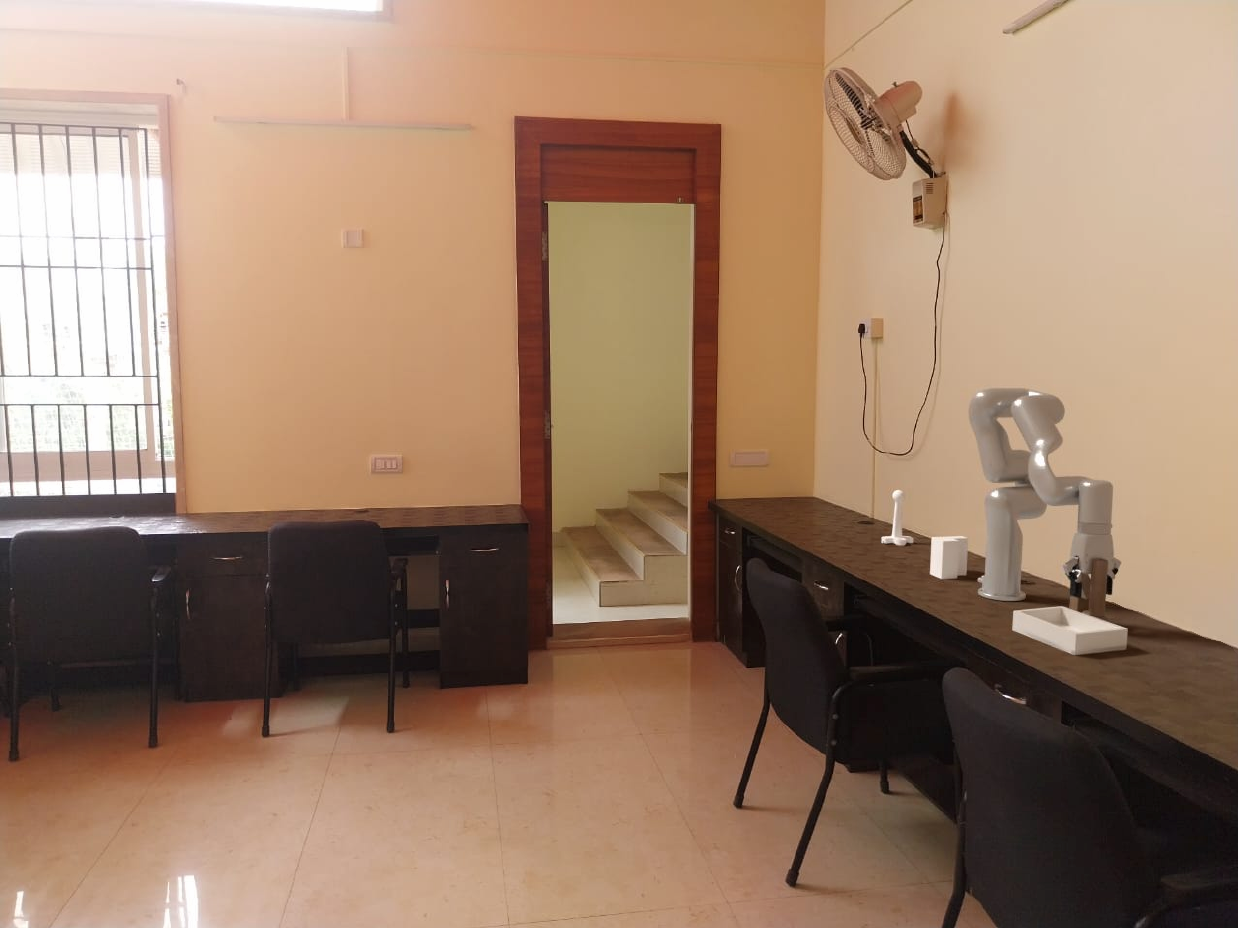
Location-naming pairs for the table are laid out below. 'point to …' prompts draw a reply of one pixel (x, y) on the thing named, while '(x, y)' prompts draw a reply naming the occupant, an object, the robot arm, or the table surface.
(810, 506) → the table surface
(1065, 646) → the tray
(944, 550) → the corner bracket
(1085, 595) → the brown rod with wedge
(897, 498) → the joystick
